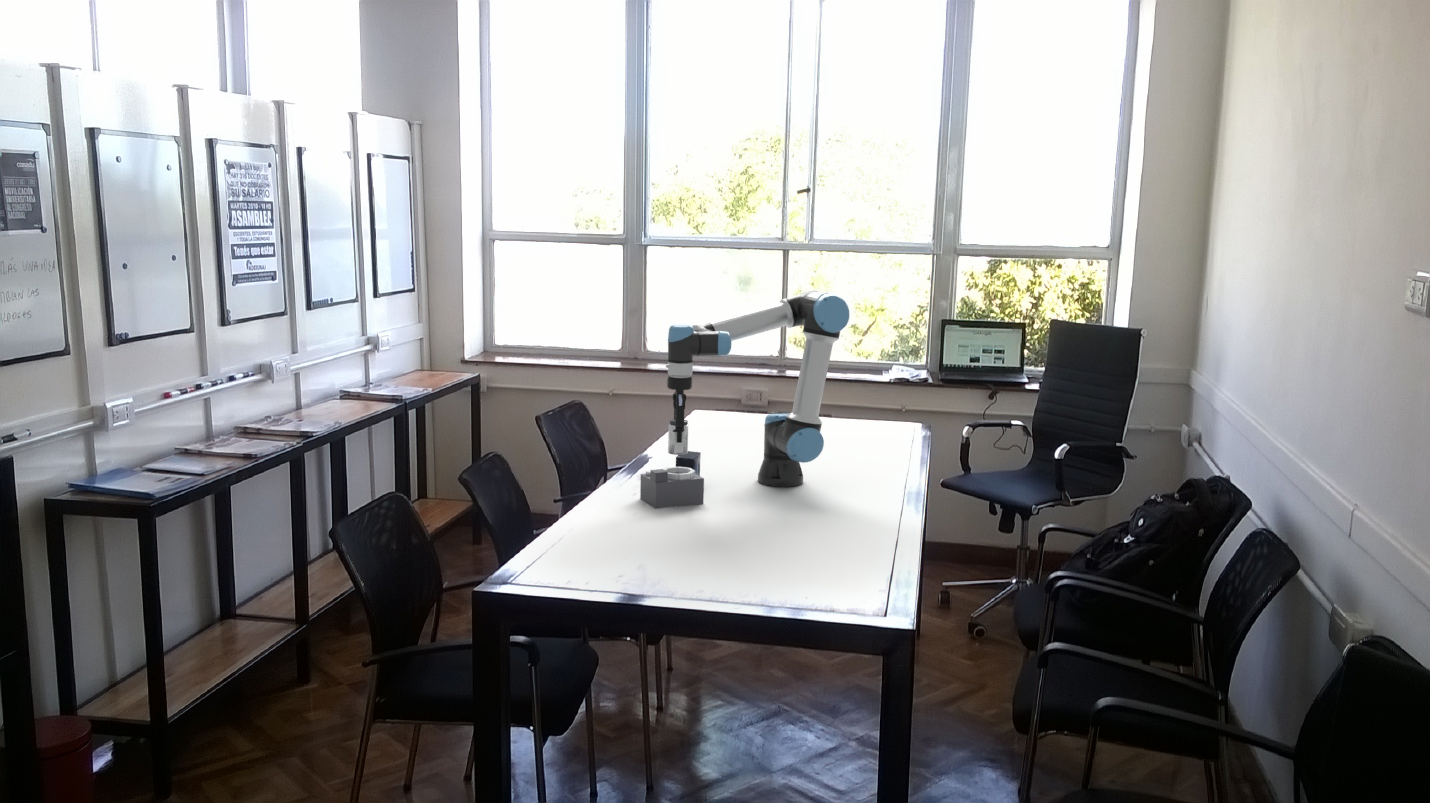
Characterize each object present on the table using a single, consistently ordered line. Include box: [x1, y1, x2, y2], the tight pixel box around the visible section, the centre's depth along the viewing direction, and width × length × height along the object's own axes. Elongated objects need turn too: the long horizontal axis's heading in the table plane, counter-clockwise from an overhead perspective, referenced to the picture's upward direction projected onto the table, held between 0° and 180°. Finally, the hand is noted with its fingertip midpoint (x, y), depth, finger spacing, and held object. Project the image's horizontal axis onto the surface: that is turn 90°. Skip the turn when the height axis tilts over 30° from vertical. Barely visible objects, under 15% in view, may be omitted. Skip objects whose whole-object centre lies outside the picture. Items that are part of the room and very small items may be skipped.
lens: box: [667, 418, 689, 456], centre depth 337 cm, size 6×6×10 cm
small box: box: [675, 450, 702, 477], centre depth 359 cm, size 11×6×10 cm, turn 168°
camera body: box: [639, 466, 705, 510], centre depth 339 cm, size 16×12×11 cm
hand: (678, 449), depth 338 cm, fingers closed on lens, 6 cm apart
